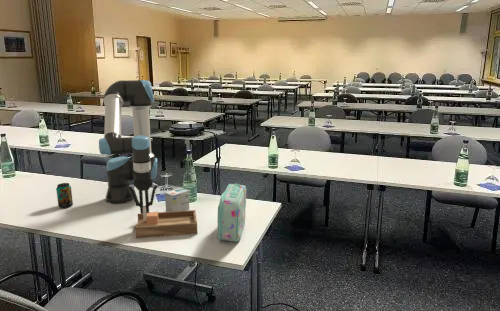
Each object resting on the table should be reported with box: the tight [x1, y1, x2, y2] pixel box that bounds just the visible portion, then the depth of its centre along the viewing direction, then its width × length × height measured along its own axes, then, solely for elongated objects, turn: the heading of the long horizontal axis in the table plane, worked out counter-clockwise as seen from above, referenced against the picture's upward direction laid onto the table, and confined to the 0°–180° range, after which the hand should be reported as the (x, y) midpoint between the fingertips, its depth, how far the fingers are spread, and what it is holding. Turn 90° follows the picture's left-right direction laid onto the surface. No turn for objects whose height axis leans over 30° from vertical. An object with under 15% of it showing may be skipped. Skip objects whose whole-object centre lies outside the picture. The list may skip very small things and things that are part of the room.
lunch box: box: [217, 183, 247, 243], centre depth 179 cm, size 27×10×21 cm, turn 174°
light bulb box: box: [164, 187, 190, 212], centre depth 204 cm, size 11×7×11 cm, turn 134°
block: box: [146, 211, 158, 225], centre depth 185 cm, size 5×5×4 cm
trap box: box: [134, 209, 198, 239], centre depth 184 cm, size 16×27×5 cm, turn 101°
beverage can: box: [55, 182, 74, 209], centre depth 209 cm, size 7×7×12 cm
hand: (145, 219), depth 185 cm, fingers closed
